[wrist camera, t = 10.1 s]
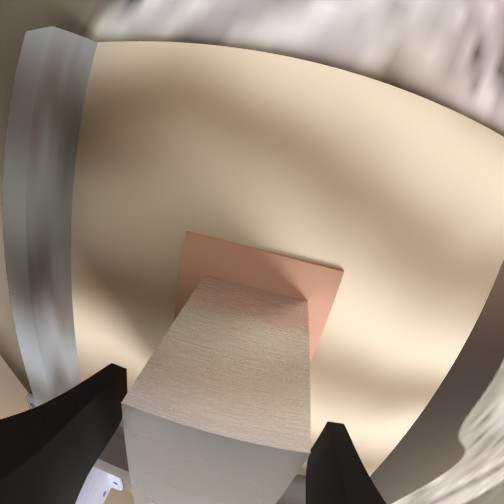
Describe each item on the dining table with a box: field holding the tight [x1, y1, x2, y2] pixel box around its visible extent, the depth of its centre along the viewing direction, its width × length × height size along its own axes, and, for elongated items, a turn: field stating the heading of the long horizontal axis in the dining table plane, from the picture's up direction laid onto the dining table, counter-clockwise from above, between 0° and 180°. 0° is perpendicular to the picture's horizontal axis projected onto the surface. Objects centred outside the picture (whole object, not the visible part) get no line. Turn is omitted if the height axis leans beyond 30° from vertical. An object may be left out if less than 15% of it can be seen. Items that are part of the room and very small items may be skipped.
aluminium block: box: [121, 275, 311, 504], centre depth 10 cm, size 4×7×7 cm, turn 169°
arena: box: [2, 26, 504, 504], centre depth 12 cm, size 22×20×4 cm
